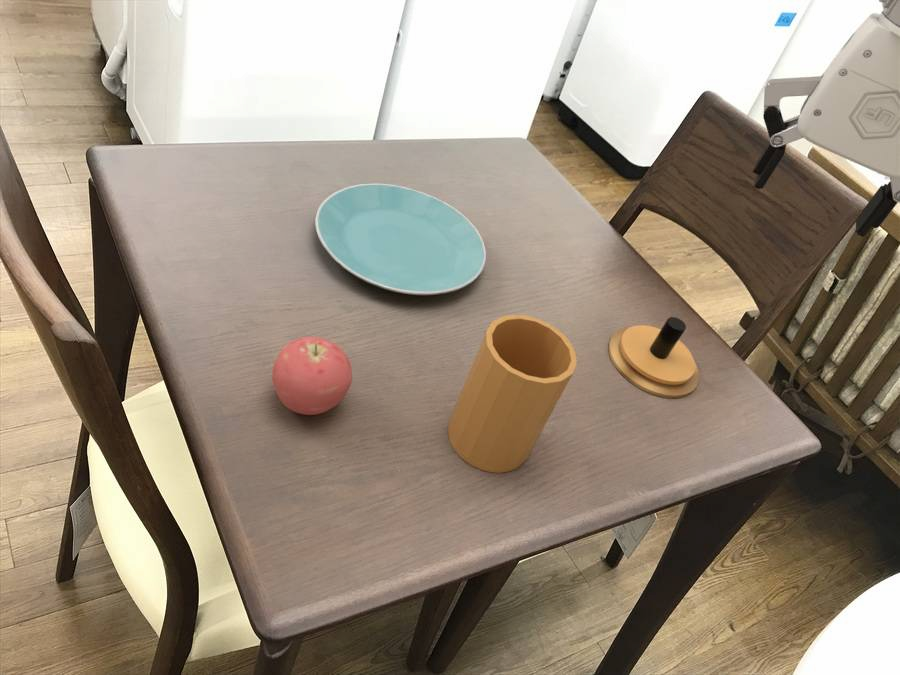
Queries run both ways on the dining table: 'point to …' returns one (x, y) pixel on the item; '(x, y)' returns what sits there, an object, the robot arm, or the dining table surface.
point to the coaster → (642, 380)
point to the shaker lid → (659, 352)
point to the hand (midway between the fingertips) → (808, 205)
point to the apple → (311, 375)
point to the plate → (400, 239)
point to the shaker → (510, 392)
